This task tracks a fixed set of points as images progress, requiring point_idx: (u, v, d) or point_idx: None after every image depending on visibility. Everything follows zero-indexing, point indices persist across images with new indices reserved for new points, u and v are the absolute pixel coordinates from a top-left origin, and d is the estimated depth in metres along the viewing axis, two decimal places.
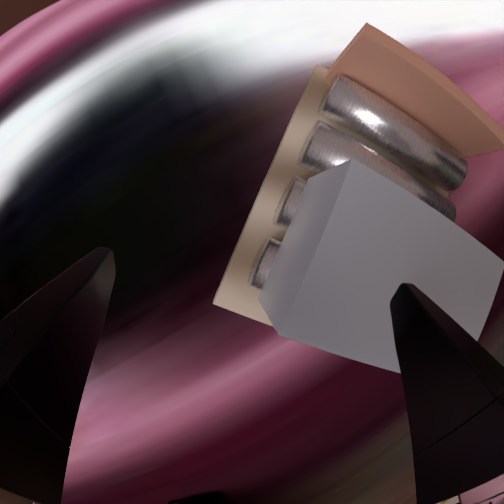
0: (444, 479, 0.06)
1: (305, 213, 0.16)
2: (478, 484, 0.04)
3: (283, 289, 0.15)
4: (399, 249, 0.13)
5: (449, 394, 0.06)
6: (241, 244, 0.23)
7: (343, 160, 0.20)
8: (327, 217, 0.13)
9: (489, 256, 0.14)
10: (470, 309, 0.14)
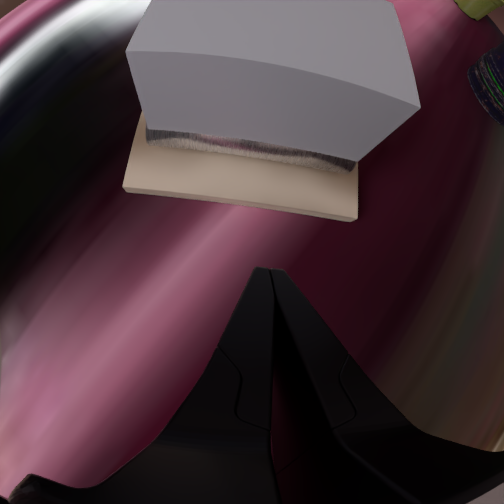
0: None
1: None
2: None
3: None
4: None
5: (294, 409, 0.06)
6: (141, 123, 0.20)
7: None
8: None
9: None
10: (371, 26, 0.11)
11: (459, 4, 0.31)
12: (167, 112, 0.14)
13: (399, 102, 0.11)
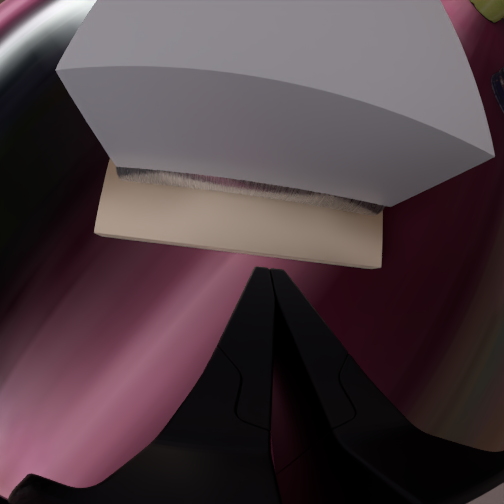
0: None
1: None
2: None
3: None
4: None
5: (294, 409, 0.06)
6: None
7: None
8: None
9: None
10: (423, 29, 0.07)
11: (476, 5, 0.27)
12: (136, 148, 0.10)
13: (470, 148, 0.07)
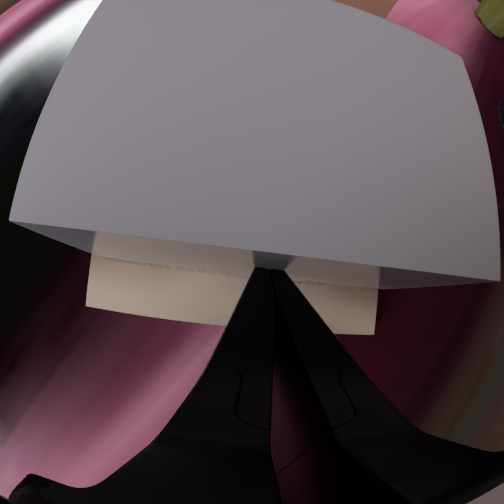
0: None
1: None
2: None
3: None
4: (218, 28, 0.06)
5: (294, 409, 0.06)
6: None
7: None
8: (85, 38, 0.06)
9: (425, 41, 0.07)
10: (443, 115, 0.07)
11: (482, 20, 0.27)
12: (116, 254, 0.10)
13: None
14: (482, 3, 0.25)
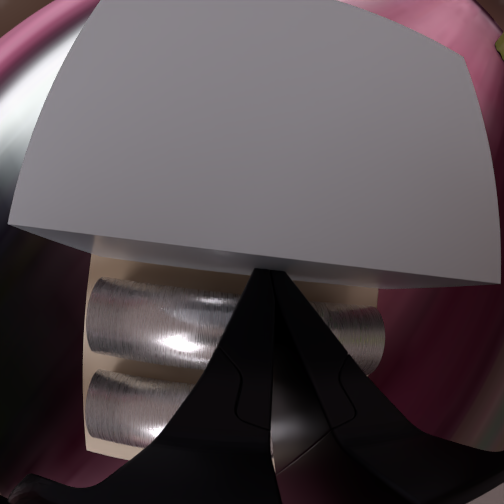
0: None
1: None
2: None
3: None
4: (218, 27, 0.06)
5: (294, 409, 0.06)
6: (86, 378, 0.14)
7: None
8: (83, 37, 0.06)
9: (427, 41, 0.07)
10: (445, 116, 0.07)
11: (503, 55, 0.25)
12: (116, 255, 0.10)
13: None
14: None
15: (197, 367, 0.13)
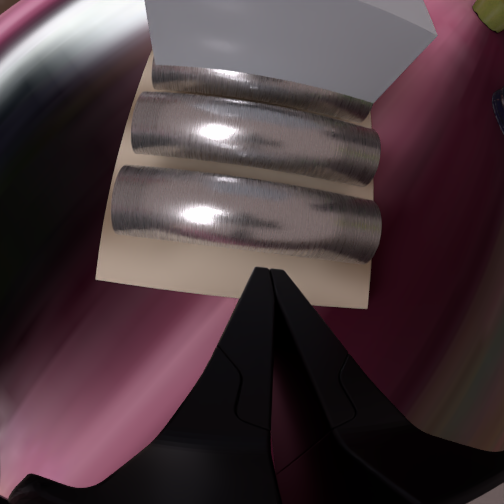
0: None
1: None
2: None
3: None
4: None
5: (294, 409, 0.06)
6: None
7: None
8: None
9: None
10: None
11: (479, 14, 0.27)
12: (177, 42, 0.12)
13: (416, 28, 0.09)
14: None
15: (223, 148, 0.15)
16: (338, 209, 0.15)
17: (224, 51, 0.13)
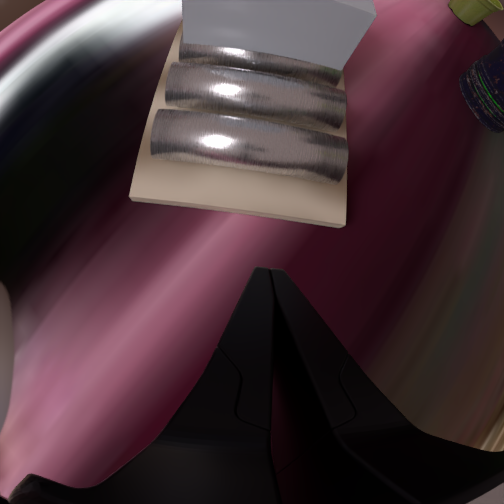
0: None
1: None
2: None
3: None
4: None
5: (294, 409, 0.06)
6: (145, 137, 0.22)
7: None
8: None
9: None
10: None
11: (454, 10, 0.33)
12: (200, 26, 0.17)
13: (361, 12, 0.14)
14: None
15: (232, 99, 0.20)
16: (314, 137, 0.20)
17: (233, 33, 0.18)
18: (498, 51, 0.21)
